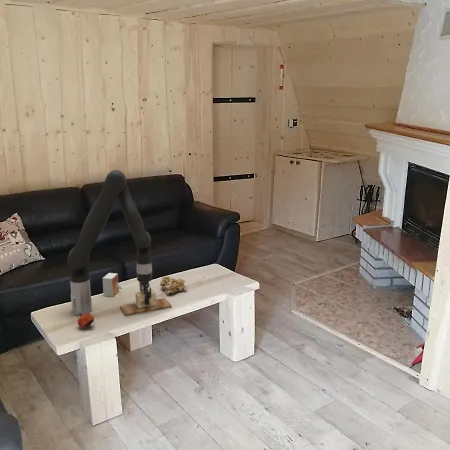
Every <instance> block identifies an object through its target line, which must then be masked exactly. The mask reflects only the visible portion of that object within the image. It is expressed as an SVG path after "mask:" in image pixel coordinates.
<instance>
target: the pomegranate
mask: <svg viewBox="0 0 450 450" xmlns="http://www.w3.org/2000/svg"><path fill="white" fill-rule="evenodd" d="M94 317H95V316H94V315H93V314H91V313H89V314H88V313H85V314H83V315H82V314H81V313H80V315H79V318H78V319H77V325H78V328H80V329H82V330H83V329H86V328H87V327H89V328H90V330H93V329H92V327H91V325H92V324H93V323H94V322H95V318H94Z"/></svg>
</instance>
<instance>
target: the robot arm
mask: <svg viewBox="0 0 450 450" xmlns="http://www.w3.org/2000/svg"><path fill="white" fill-rule="evenodd" d="M104 179H105V180H104V183H103V186H102V189H101V191H100V194H99V196H98V198H97V199H96V201H95V202H94V204H93V205H92V207H91V209H90V210H89V212H88V214H87V216H86V218H85V221H84V223H83V225H82V228H81V231H80V235H79V238H78V241H77V242H76V244H75V246H73V248H71V249H70V250H69V253H68V255H67V263H68V266H69V282H70V285H69V286H70V292H71V293H70V301H71V312H72V314H73V316H80V313H81V314H82V315H83V314H85V313H88V314H91V313H92V311H93V307H92V306H93V305H92V304H93V303H92V292H91V278H90V255H91V252H92V249H93V247H94V246H95V244H96V242H97V241H98V239H99V237H100V235H101V234H102V232H103V230H104V228H105V226H106V225H107V222H108V220H109V218H110V216H111V212H112V210H113V206H114V203H115V202H116V200H117V199H118V202H119V205H120V206H121V210H122V213H123V216H124V218H125V221H126V223H127V225H128V227H129V229H130V231H131V232H130V233H131V235H132V238H133V242H134V243H135V245H136V248H137V251H136V280H137V281H138V283H139V284H138V285H139V292H140V291H143V294H144V297H145V305H149V304H150V303H149V298H151V289H152V287H151V286H150V285H151V284H150V282H151V281H152V280H153V265H152V254H151V253H152V252H151V248H152V247H151V246H152V237H151V236H152V235H151V234H150V232H148V231H147V230H146V229H145V227H144V221H143V218H142V217H141V214H140V212H139V210H138V208H137V206H136V204H135V201H134V199H133V197H132V195H131V192H130V189H129V187H128V181H127V177H126V175H125V173H124V172H122V171H121V170H119V169H114V170H111V171H110V172H108V173H107V176H106V177H105V178H104ZM144 291H146V292H144Z"/></svg>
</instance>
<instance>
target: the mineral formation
mask: <svg viewBox="0 0 450 450" xmlns="http://www.w3.org/2000/svg"><path fill="white" fill-rule="evenodd" d="M185 282H186V280H185V279H183V278H178V279H176V278H172V277H170V276H165V275H164V276H162V277H161V280H160V283H159V286H160V287H161V288H164V293H165V294H166V295H167V296H169V295H171V294H175V292H180V291H183V289H186V288H187V285H185Z"/></svg>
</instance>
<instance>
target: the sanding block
mask: <svg viewBox="0 0 450 450" xmlns="http://www.w3.org/2000/svg"><path fill="white" fill-rule="evenodd" d="M144 292H146V291H144ZM134 294H135V303H136V306H137V307H138V309H141V308H146V307H151V306H156V300H157V299H156V292H155V290H154V289H152V288H151V298H149V303H150V304H149V305H145V297H144V294H143V291H140V290H139V291H135V293H134Z"/></svg>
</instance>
